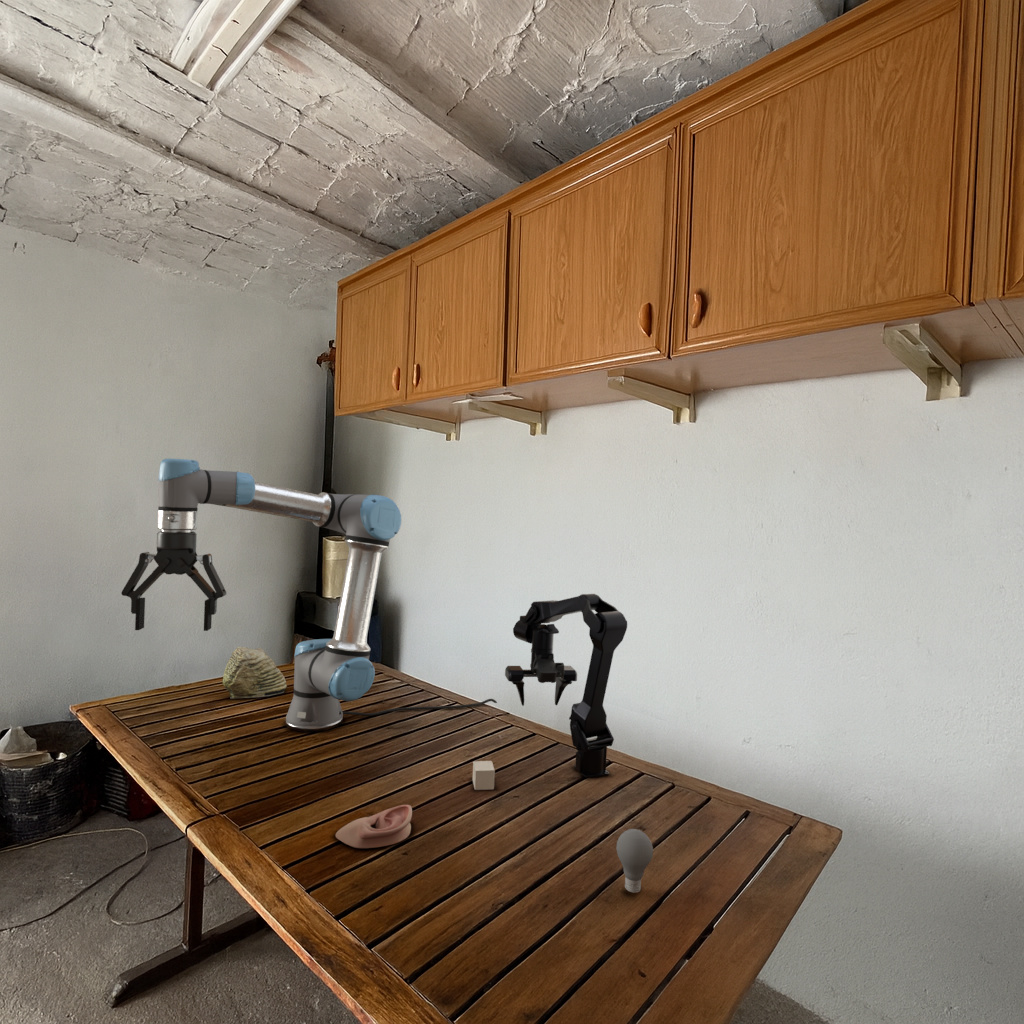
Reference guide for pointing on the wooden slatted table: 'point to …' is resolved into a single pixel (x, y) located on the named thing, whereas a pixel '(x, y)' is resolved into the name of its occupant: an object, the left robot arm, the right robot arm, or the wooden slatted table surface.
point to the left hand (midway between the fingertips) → (173, 629)
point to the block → (483, 775)
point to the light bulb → (634, 857)
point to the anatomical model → (378, 828)
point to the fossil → (252, 674)
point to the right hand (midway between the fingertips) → (539, 705)
